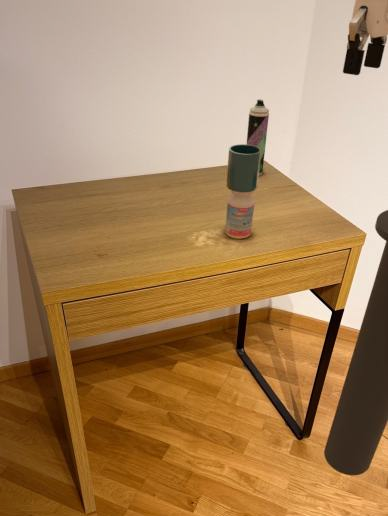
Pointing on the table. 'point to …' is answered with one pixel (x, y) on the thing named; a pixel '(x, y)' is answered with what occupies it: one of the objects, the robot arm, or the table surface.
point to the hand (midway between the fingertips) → (361, 70)
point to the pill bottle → (239, 214)
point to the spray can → (258, 128)
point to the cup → (243, 168)
